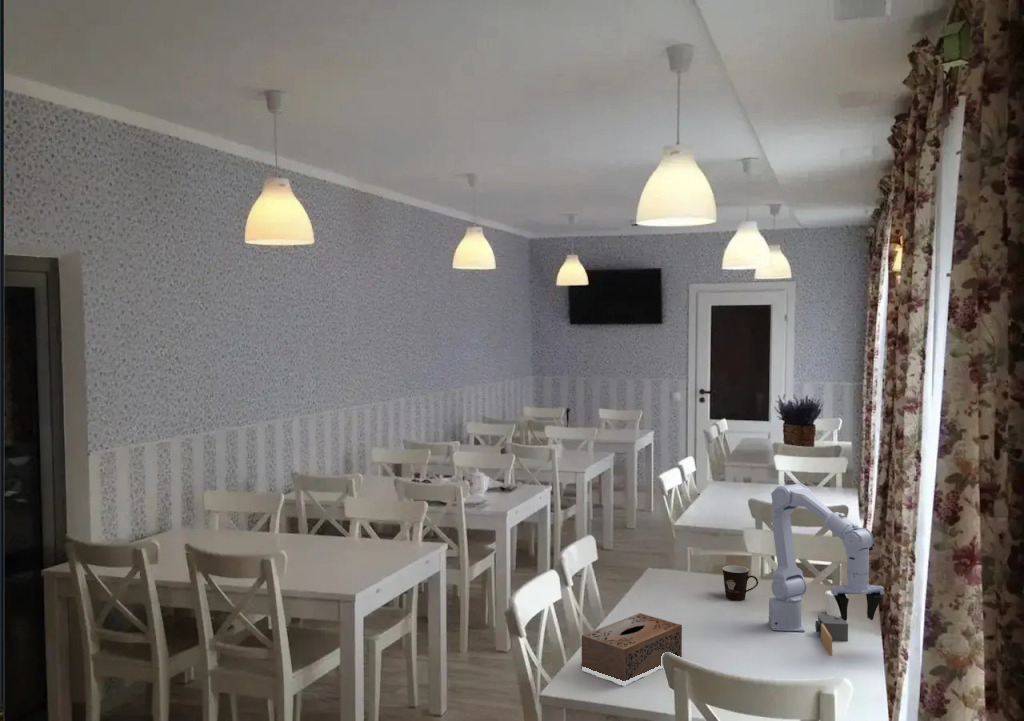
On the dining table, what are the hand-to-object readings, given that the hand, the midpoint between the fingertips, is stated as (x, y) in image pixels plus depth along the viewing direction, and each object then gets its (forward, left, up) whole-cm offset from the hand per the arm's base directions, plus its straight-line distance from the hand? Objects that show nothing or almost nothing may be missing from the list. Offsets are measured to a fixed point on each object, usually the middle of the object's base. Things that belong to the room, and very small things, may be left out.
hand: (857, 619), depth 247 cm
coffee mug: (-27, +44, -10) cm, 53 cm away
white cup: (+2, +32, -10) cm, 34 cm away
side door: (-8, +2, -9) cm, 12 cm away
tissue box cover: (-63, -18, -10) cm, 66 cm away
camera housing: (-4, +12, -9) cm, 15 cm away
